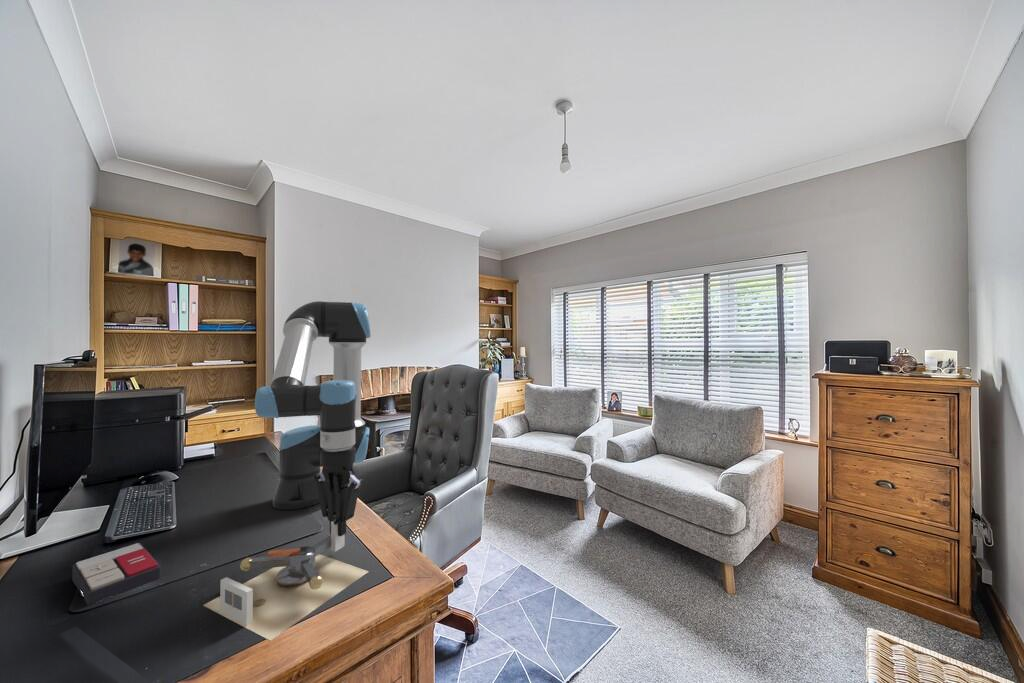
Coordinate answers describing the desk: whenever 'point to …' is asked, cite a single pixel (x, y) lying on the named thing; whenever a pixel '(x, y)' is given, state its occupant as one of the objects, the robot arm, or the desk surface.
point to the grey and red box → (115, 572)
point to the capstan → (292, 564)
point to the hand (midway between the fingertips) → (337, 548)
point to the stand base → (292, 596)
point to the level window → (236, 601)
